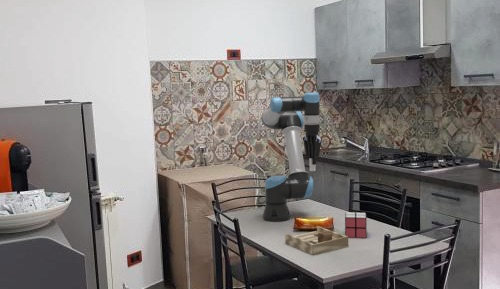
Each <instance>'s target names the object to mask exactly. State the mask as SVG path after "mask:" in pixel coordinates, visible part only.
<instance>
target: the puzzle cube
mask: <svg viewBox="0 0 500 289" xmlns="http://www.w3.org/2000/svg"><path fill="white" fill-rule="evenodd" d="M344 215H345V216H344V226H345V227H344V235H345V236H348V239H349V238H351V239H352V238H356V239H366V238H367V231H368V230H367V213H366V212H351V211H350V212H347V211H346V212H345V214H344Z"/></svg>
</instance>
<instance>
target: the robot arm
mask: <svg viewBox="0 0 500 289" xmlns="http://www.w3.org/2000/svg"><path fill="white" fill-rule="evenodd" d="M320 100H321V99H320V94H319V92H305V93H304V94H303V95H302V96H281V97H279V96H276V97H271V99H270V101H269V103H270V104H269V108H268V109H266V110H264V111H263V112H262V115H261V122H262V124H263V125H264V126H265V127H266V128H268V129H270V130H281V134H283V135H284V138H285V139H284V140H285V146H286V147H285V148H286V153H287V162H288V168H289V174H288V175H287V176H286V175H284V174H283V175H281V174H280V175H278V174H277V175H274V176H269V177H268V178H266V179H265V182H264V184H265V185H264V188H265V206H264V209H263V213H262V219H263V220H265V221H268V222H285V221H289V220H290V219H291V214H290V213H291V212H290V211H289V208H288V205H287V203H288V202H287V200H292V199H305V198H306V199H307V198H310V197H312V195H313V191H314V179H313V176H310V175H309V172H316V168H317V166H316V165H317V158H319V157H320V154H321V153H320V152H321V146H322V142H323V138H320V135H319V132H320V131H321V130H320V129H321V128H320V126H321V125H320V123H321V122H320V120H321V119H320V117H321V116H320ZM302 112H303V113H304V114H303V113H302ZM303 115H304V116H303ZM302 129H304V132H305V136H303V137H302V140H303V146H304V151H305V156H306V157H308V165H309V172H308V171H306V167H305V161H304V156H303V155H304V154H303V147H302V142H301V135H300V133H301V131H302Z"/></svg>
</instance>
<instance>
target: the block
mask: <svg viewBox="0 0 500 289" xmlns="http://www.w3.org/2000/svg"><path fill="white" fill-rule="evenodd" d="M329 240H332V233H330V232H327V231H323V232H319V233H318V243H321V242H325V241H329Z"/></svg>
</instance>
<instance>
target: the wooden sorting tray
mask: <svg viewBox="0 0 500 289" xmlns="http://www.w3.org/2000/svg"><path fill="white" fill-rule="evenodd" d="M323 231H327V232H330V233H332V240H329V241H325V242H321V243H318V233H319V232H323ZM284 237H285V238H284V239H285V244H287V245H289V246H291V247H293V248H297V250H298V249H299V250H300V251H304V252H305V253H308V254H310V255H313V256H316V255H320V254H324V253H328V252H331V251H335V250H336V251H337V250H339V249H344V248H347V247H349V238H348V236H345V234H341V233H338V232H336V231H333V230H330V229H327V228H324V227H323V226H322V227H321V226H316V230H314V231H310V232H306V233H302V234H297V235H292V234H289V233H285V236H284Z"/></svg>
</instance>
